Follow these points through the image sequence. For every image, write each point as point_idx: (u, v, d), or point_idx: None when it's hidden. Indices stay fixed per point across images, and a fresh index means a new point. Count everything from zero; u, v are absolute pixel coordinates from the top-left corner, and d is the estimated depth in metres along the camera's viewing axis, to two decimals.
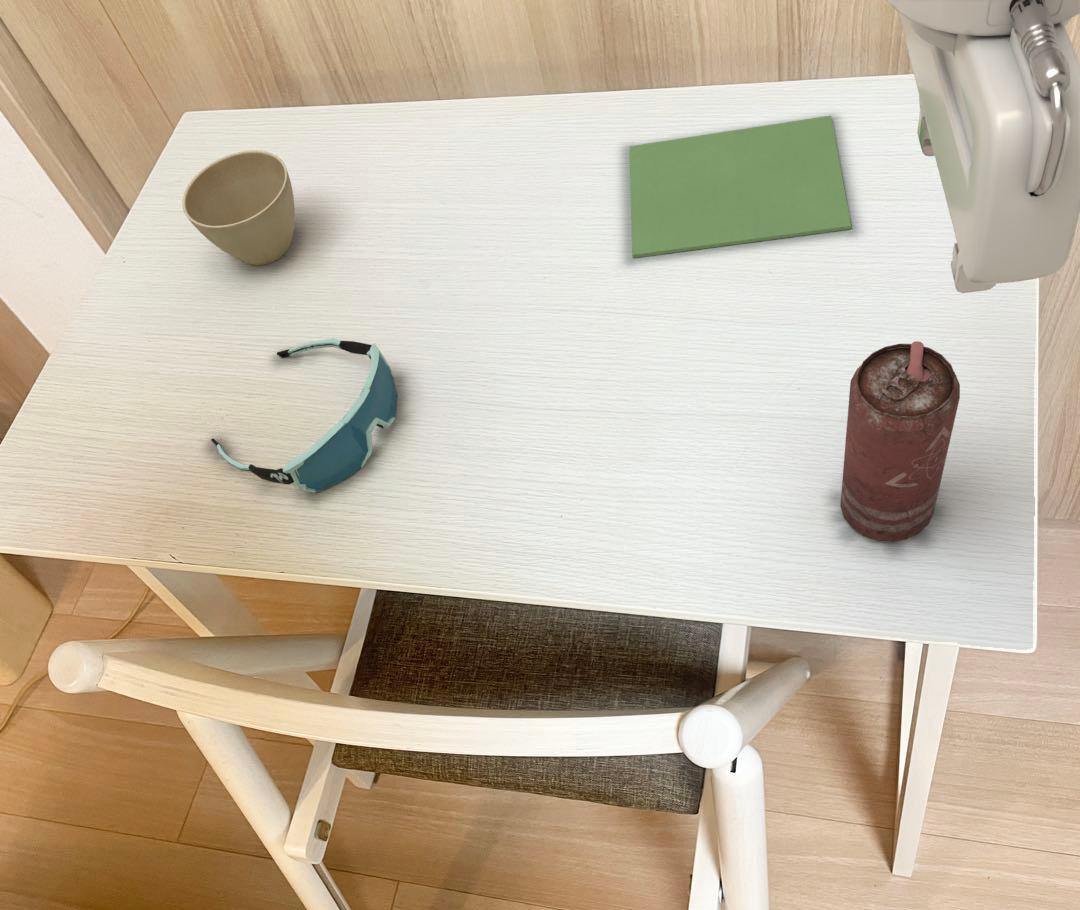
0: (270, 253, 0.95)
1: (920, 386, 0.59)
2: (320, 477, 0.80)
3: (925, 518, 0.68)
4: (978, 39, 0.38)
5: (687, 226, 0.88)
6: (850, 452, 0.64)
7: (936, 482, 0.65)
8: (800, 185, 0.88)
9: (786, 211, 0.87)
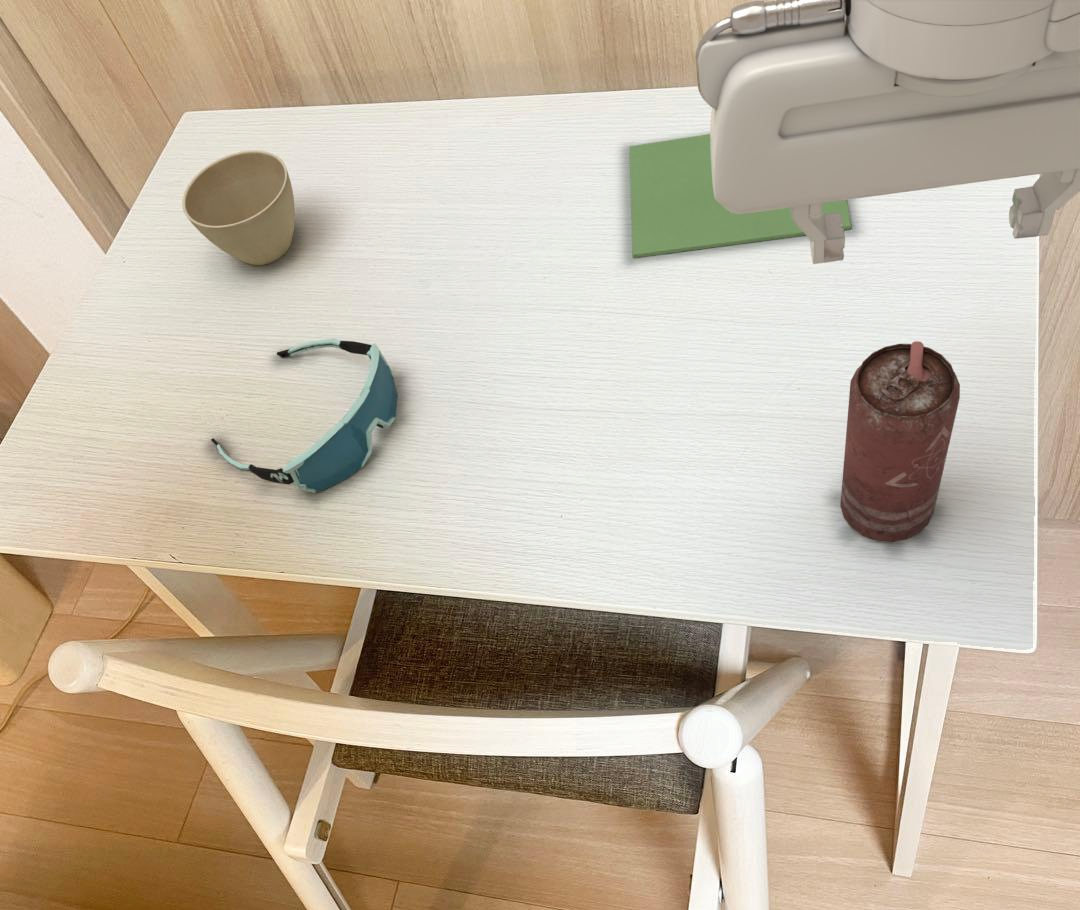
0: (270, 253, 0.95)
1: (920, 386, 0.59)
2: (320, 477, 0.80)
3: (925, 518, 0.68)
4: None
5: (687, 226, 0.88)
6: (850, 452, 0.64)
7: (936, 482, 0.65)
8: None
9: (786, 211, 0.87)
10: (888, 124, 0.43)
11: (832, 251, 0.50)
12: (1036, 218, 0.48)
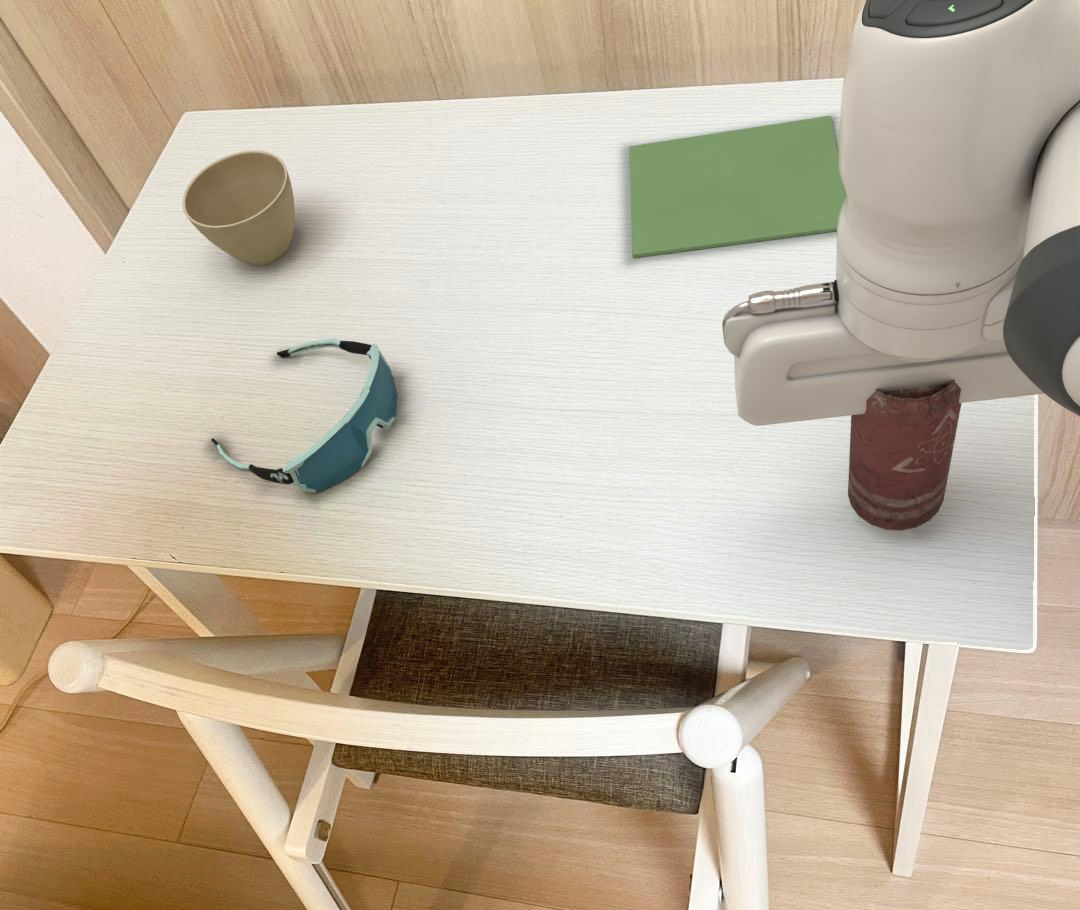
0: (270, 253, 0.95)
1: None
2: (320, 477, 0.80)
3: (934, 505, 0.66)
4: None
5: (687, 226, 0.88)
6: (855, 437, 0.62)
7: (944, 467, 0.63)
8: (800, 185, 0.88)
9: (786, 211, 0.87)
10: (870, 371, 0.56)
11: None
12: None
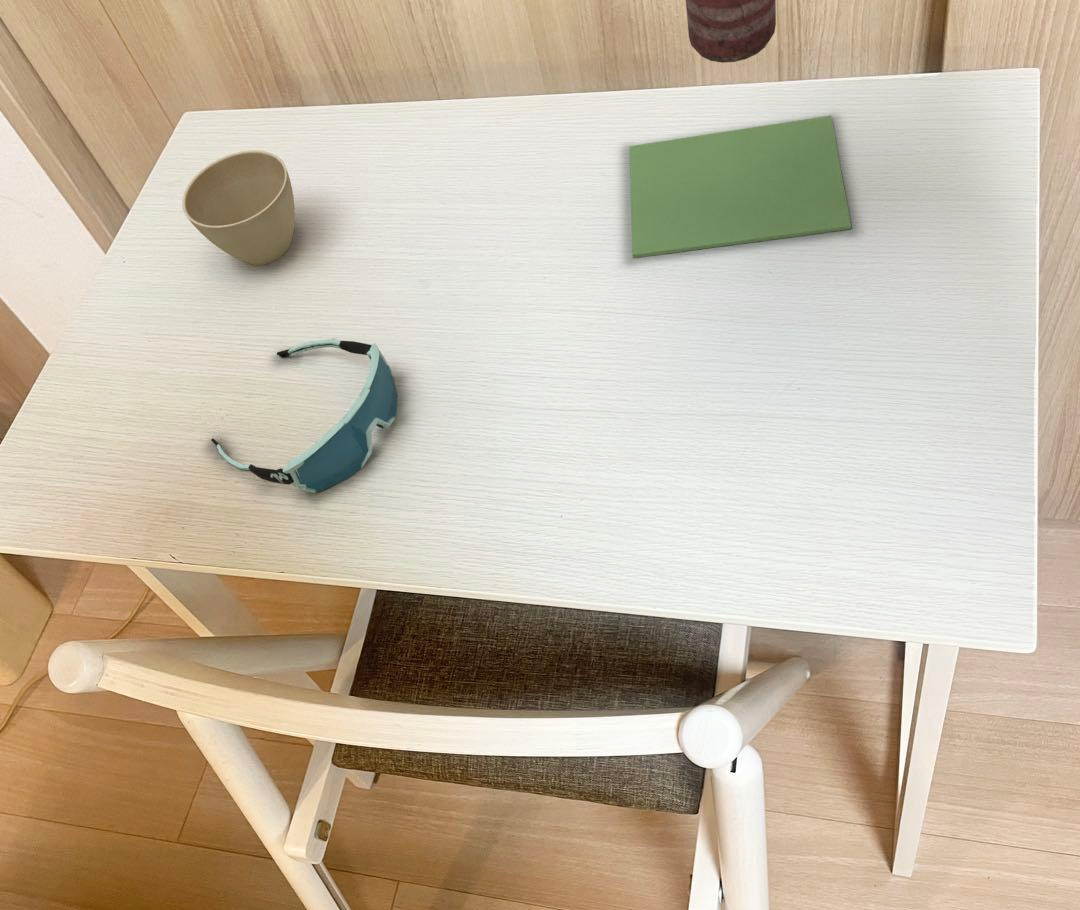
0: (270, 253, 0.95)
1: None
2: (320, 477, 0.80)
3: (763, 27, 0.71)
4: None
5: (687, 226, 0.88)
6: None
7: None
8: (800, 185, 0.88)
9: (786, 211, 0.87)
10: None
11: None
12: None
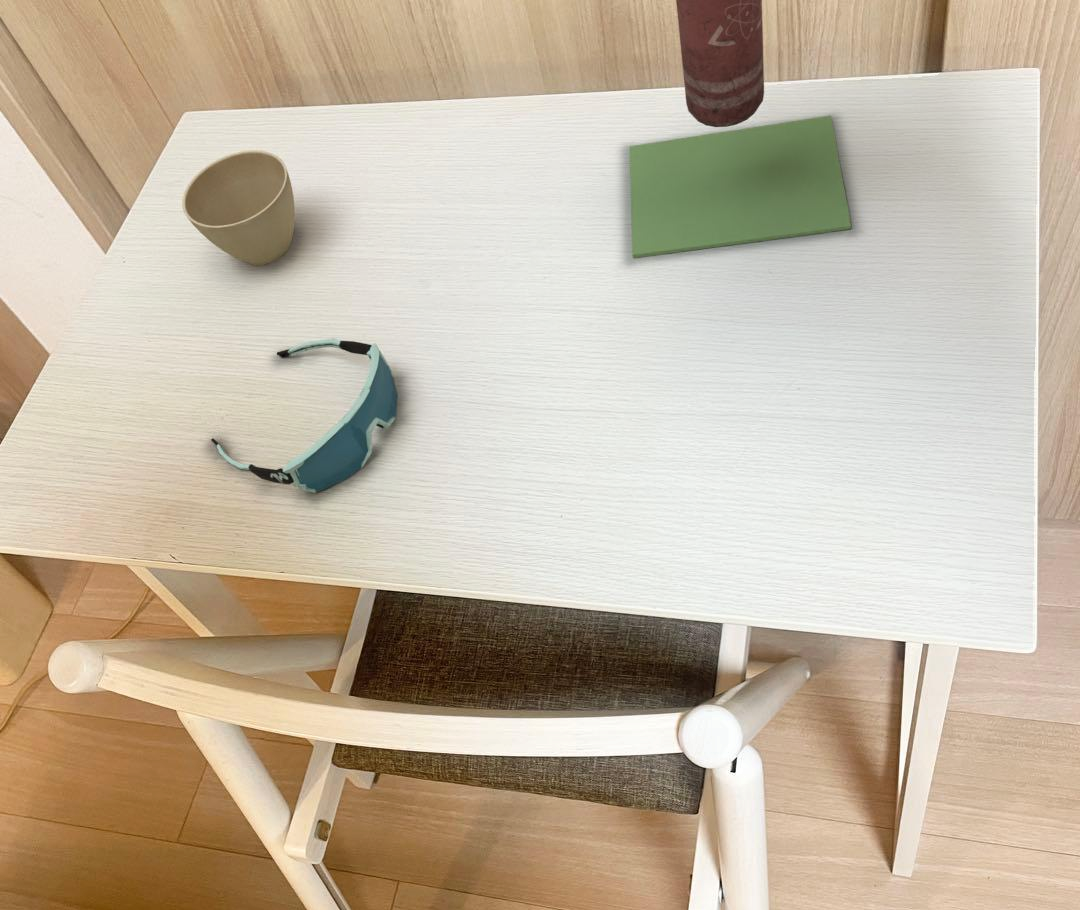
0: (270, 253, 0.95)
1: None
2: (320, 477, 0.80)
3: (752, 97, 0.80)
4: None
5: (687, 226, 0.88)
6: (680, 20, 0.76)
7: (754, 49, 0.76)
8: (800, 185, 0.88)
9: (786, 211, 0.87)
10: None
11: None
12: None
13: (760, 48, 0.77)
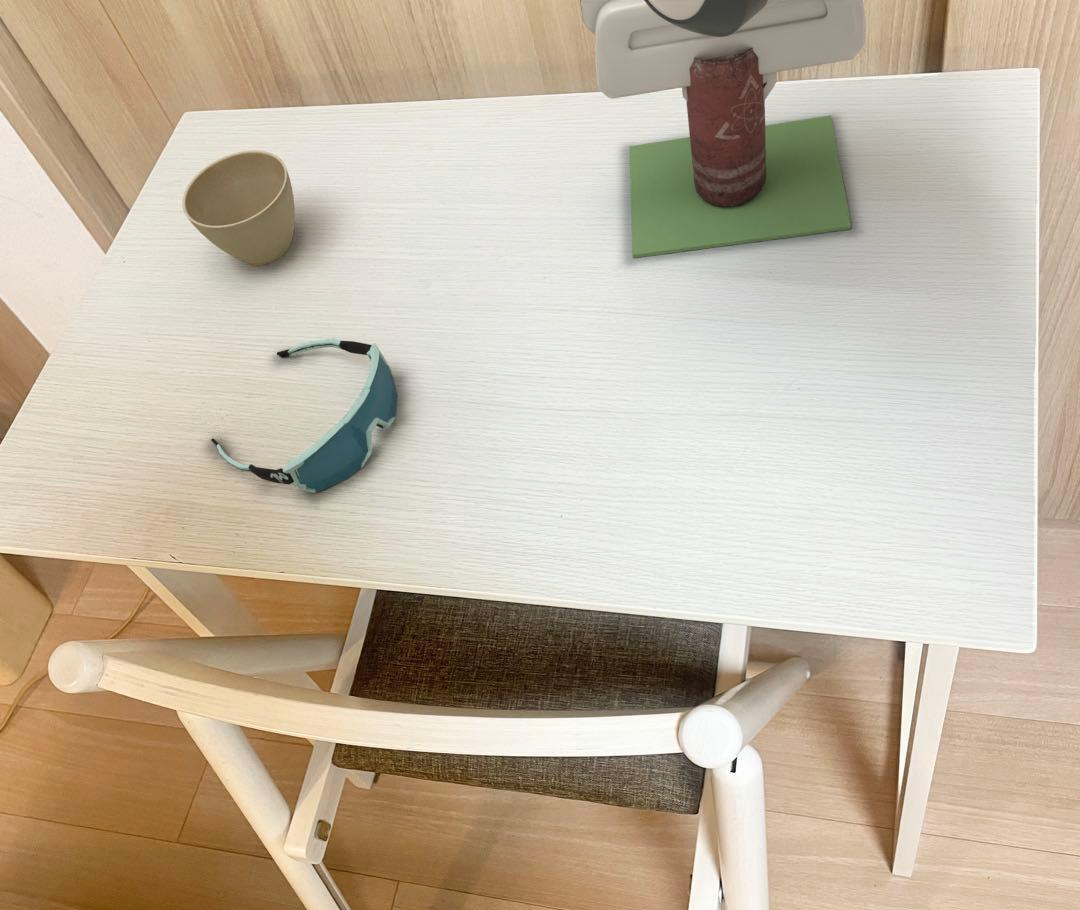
0: (270, 253, 0.95)
1: None
2: (320, 477, 0.80)
3: (755, 181, 0.86)
4: None
5: (687, 226, 0.88)
6: (689, 115, 0.82)
7: (757, 141, 0.83)
8: (800, 185, 0.88)
9: (786, 211, 0.87)
10: (689, 40, 0.76)
11: None
12: None
13: (763, 139, 0.84)
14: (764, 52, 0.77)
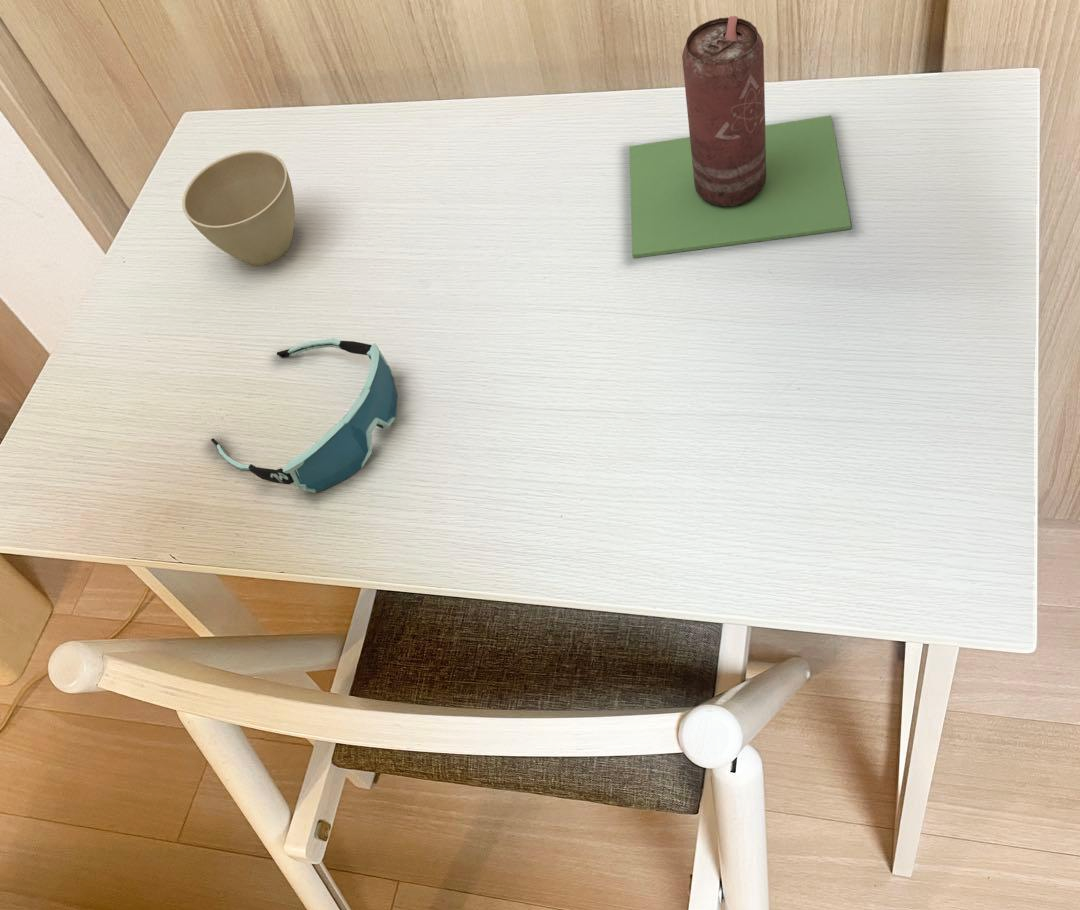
0: (270, 253, 0.95)
1: (733, 44, 0.78)
2: (320, 477, 0.80)
3: (755, 181, 0.86)
4: None
5: (687, 226, 0.88)
6: (689, 115, 0.82)
7: (757, 141, 0.83)
8: (800, 185, 0.88)
9: (786, 211, 0.87)
10: None
11: None
12: None
13: (763, 139, 0.84)
14: None
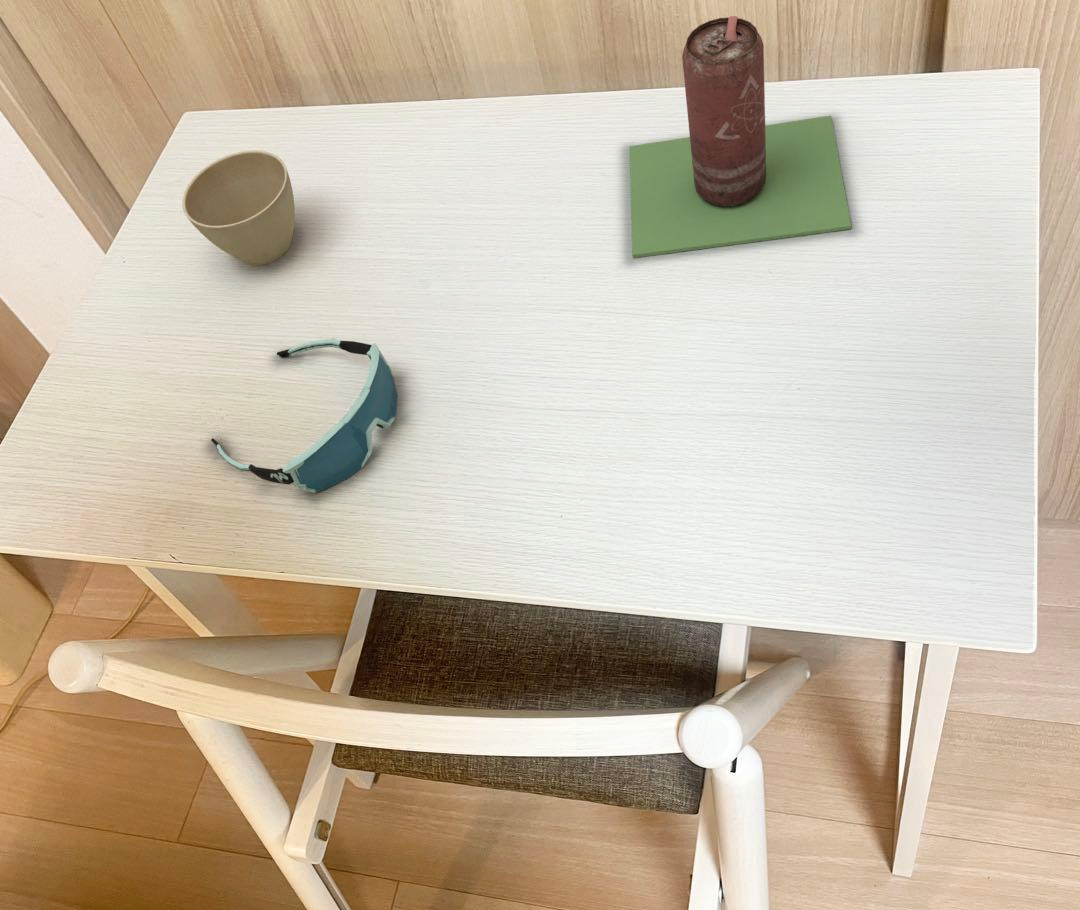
0: (270, 253, 0.95)
1: (733, 44, 0.78)
2: (320, 477, 0.80)
3: (755, 181, 0.86)
4: None
5: (687, 226, 0.88)
6: (689, 115, 0.82)
7: (757, 141, 0.83)
8: (800, 185, 0.88)
9: (786, 211, 0.87)
10: None
11: None
12: None
13: (763, 139, 0.84)
14: None
